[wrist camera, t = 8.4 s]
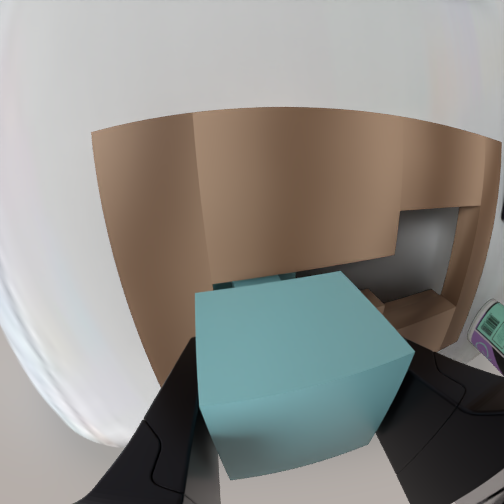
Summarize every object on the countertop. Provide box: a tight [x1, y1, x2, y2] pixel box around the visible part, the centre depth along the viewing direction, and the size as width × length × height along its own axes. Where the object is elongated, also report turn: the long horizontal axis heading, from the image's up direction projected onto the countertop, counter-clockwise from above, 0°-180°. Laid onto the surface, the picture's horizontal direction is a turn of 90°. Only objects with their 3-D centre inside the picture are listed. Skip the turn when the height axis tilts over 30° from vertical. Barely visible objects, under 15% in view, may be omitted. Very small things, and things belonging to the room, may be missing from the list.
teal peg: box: [195, 271, 415, 480], centre depth 9 cm, size 4×4×9 cm
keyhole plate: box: [91, 107, 502, 387], centre depth 12 cm, size 18×13×4 cm
